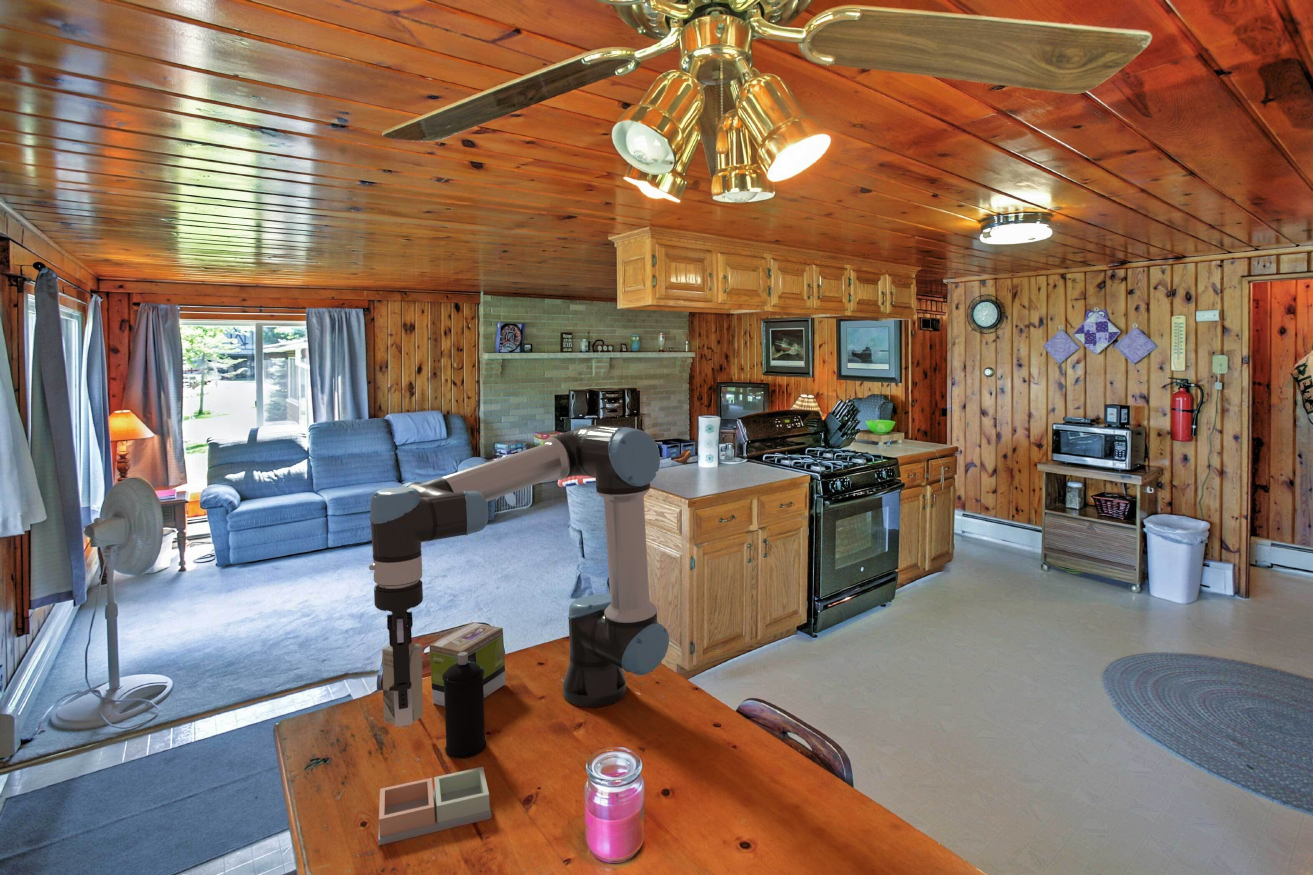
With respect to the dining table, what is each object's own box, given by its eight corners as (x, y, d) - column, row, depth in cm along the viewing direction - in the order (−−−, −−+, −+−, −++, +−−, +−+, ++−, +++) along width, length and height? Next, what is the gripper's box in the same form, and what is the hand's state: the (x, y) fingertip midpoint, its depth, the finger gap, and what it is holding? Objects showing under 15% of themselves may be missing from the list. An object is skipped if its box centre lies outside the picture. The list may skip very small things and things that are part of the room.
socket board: (484, 784, 124) (483, 764, 124) (491, 818, 115) (490, 796, 115) (380, 807, 118) (378, 786, 118) (378, 845, 109) (377, 822, 108)
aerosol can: (475, 761, 132) (471, 664, 130) (437, 756, 134) (433, 660, 131) (493, 738, 140) (490, 646, 138) (457, 734, 142) (453, 643, 139)
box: (382, 722, 112) (379, 648, 111) (401, 710, 116) (398, 638, 115) (407, 728, 110) (404, 653, 109) (425, 716, 114) (423, 643, 113)
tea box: (474, 676, 168) (472, 620, 167) (506, 685, 164) (505, 626, 162) (430, 704, 155) (428, 642, 153) (464, 713, 150) (461, 650, 149)
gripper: (375, 567, 118) (380, 692, 121) (371, 603, 100) (378, 748, 103) (420, 563, 121) (424, 685, 123) (424, 597, 103) (429, 738, 105)
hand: (403, 713), depth 113 cm, fingers closed on box, 6 cm apart
